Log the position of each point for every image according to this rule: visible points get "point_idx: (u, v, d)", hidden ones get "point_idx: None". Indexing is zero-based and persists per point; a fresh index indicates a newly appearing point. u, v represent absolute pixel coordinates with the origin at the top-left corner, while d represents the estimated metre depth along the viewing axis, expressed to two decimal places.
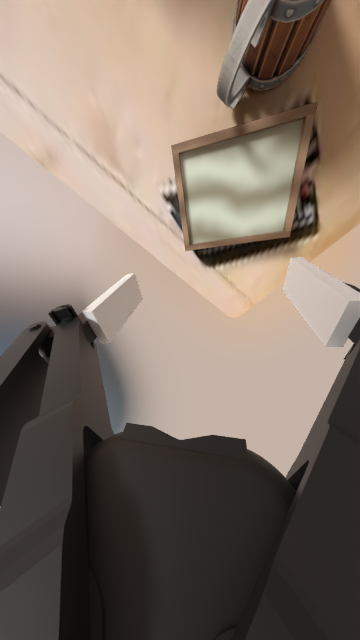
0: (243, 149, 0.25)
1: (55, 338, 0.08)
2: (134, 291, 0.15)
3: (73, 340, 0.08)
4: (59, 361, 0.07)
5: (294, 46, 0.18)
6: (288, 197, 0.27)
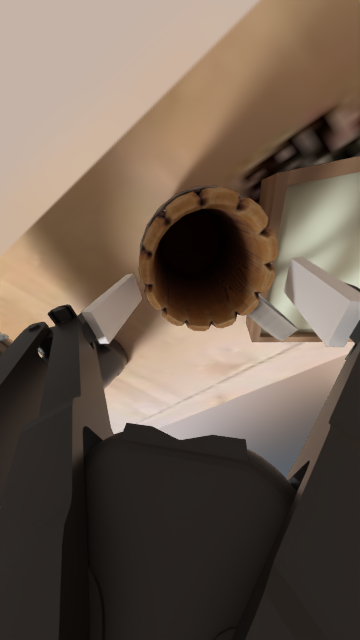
0: (281, 267, 0.19)
1: (54, 338, 0.08)
2: (134, 291, 0.15)
3: (72, 340, 0.08)
4: (58, 361, 0.07)
5: None
6: None
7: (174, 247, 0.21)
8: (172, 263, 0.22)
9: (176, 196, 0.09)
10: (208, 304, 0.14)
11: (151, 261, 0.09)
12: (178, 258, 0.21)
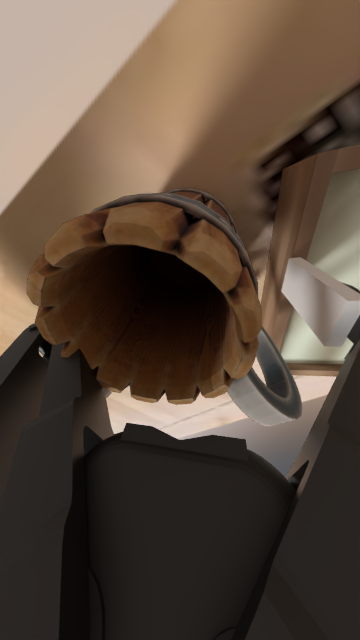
0: None
1: None
2: None
3: None
4: (59, 361, 0.07)
5: None
6: None
7: (165, 256, 0.17)
8: (163, 274, 0.18)
9: (96, 212, 0.05)
10: (177, 352, 0.10)
11: (53, 316, 0.06)
12: (170, 269, 0.17)
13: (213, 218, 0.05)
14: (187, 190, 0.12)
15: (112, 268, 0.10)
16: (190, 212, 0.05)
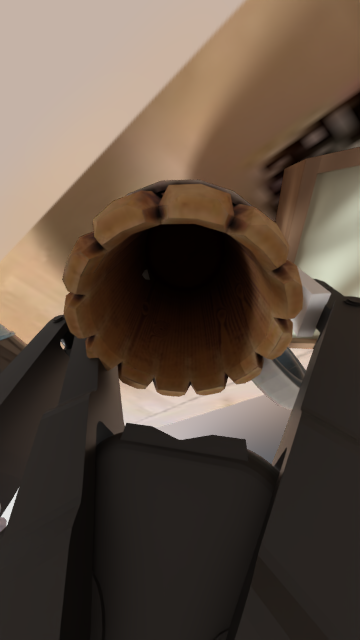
0: (303, 268, 0.17)
1: None
2: None
3: None
4: (79, 353, 0.07)
5: None
6: None
7: (165, 255, 0.17)
8: (162, 274, 0.18)
9: None
10: (193, 345, 0.10)
11: (83, 306, 0.05)
12: (170, 268, 0.17)
13: (248, 203, 0.05)
14: None
15: (124, 263, 0.09)
16: None
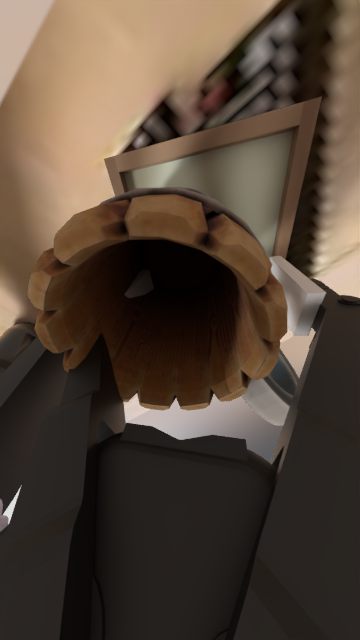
0: None
1: None
2: (149, 286, 0.15)
3: None
4: None
5: None
6: (221, 150, 0.13)
7: (162, 257, 0.16)
8: (159, 275, 0.17)
9: None
10: (183, 354, 0.10)
11: (55, 321, 0.05)
12: (166, 270, 0.17)
13: (232, 213, 0.05)
14: (185, 189, 0.12)
15: (112, 268, 0.09)
16: (209, 206, 0.05)
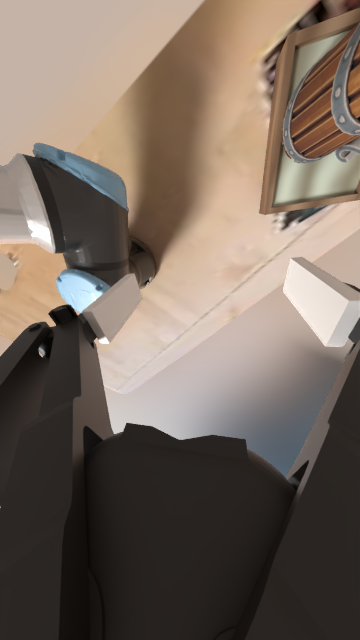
0: None
1: (55, 338, 0.08)
2: (134, 291, 0.15)
3: (73, 340, 0.08)
4: (59, 361, 0.07)
5: None
6: None
7: None
8: None
9: None
10: None
11: None
12: None
13: None
14: None
15: None
16: None
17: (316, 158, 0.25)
